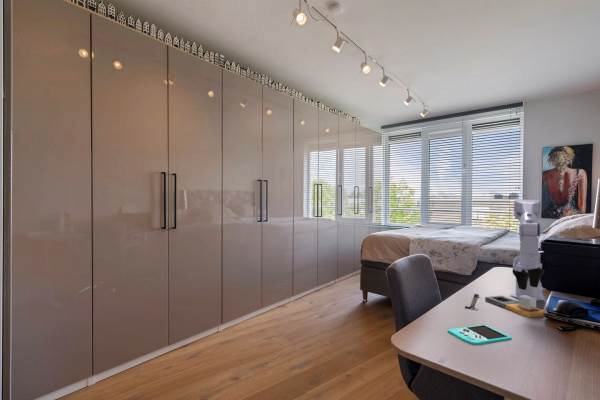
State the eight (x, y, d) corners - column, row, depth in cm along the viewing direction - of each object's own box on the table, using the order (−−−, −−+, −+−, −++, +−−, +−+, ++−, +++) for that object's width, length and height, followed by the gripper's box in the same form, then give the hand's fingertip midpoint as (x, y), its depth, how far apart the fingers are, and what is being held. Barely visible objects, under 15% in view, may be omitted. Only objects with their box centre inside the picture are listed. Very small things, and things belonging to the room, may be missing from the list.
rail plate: (501, 298, 133) (501, 295, 133) (547, 315, 114) (547, 311, 114) (485, 300, 130) (485, 297, 130) (529, 317, 112) (529, 313, 112)
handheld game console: (446, 332, 100) (446, 328, 100) (484, 327, 104) (484, 323, 104) (471, 347, 90) (471, 342, 90) (512, 340, 95) (512, 336, 95)
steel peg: (524, 310, 120) (524, 294, 120) (535, 313, 116) (536, 298, 116) (518, 311, 118) (518, 296, 118) (529, 315, 115) (530, 299, 115)
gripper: (528, 250, 124) (527, 283, 125) (506, 252, 118) (506, 287, 118) (548, 253, 118) (547, 287, 118) (526, 256, 112) (525, 292, 112)
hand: (528, 288), depth 118 cm, fingers open, 7 cm apart
